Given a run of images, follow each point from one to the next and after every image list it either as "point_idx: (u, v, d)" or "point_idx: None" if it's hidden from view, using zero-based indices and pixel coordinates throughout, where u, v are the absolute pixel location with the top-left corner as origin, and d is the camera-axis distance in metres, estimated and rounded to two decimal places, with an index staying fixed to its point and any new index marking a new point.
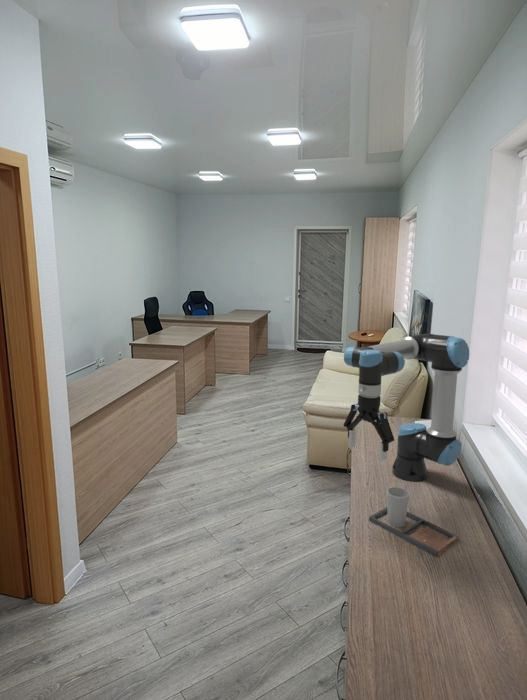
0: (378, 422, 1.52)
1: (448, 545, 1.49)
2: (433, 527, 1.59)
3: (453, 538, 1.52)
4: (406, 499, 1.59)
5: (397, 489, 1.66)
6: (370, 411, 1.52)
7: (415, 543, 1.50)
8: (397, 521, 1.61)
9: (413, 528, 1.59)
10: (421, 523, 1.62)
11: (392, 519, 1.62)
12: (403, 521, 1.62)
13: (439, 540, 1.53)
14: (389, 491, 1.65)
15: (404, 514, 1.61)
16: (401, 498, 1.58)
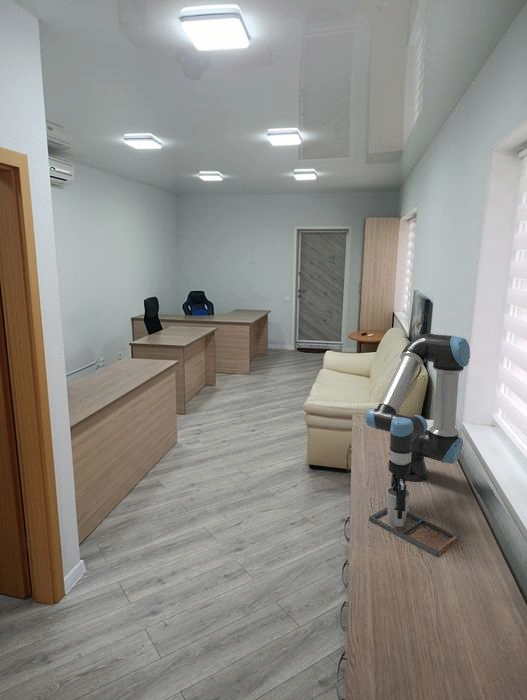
0: None
1: (448, 545, 1.49)
2: (433, 527, 1.59)
3: (453, 538, 1.52)
4: (406, 499, 1.59)
5: None
6: (396, 475, 1.59)
7: (415, 543, 1.50)
8: None
9: (413, 528, 1.59)
10: (421, 523, 1.62)
11: (392, 519, 1.62)
12: (403, 521, 1.62)
13: (439, 540, 1.53)
14: (389, 491, 1.65)
15: (404, 514, 1.61)
16: None
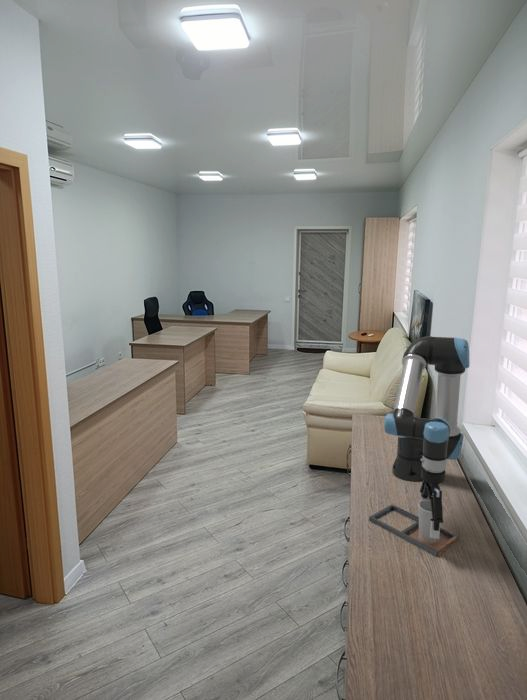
0: None
1: (448, 545, 1.49)
2: None
3: (453, 538, 1.52)
4: None
5: (428, 502, 1.56)
6: (430, 485, 1.49)
7: (415, 543, 1.50)
8: None
9: (413, 528, 1.59)
10: None
11: (424, 535, 1.52)
12: None
13: (439, 540, 1.53)
14: (420, 505, 1.55)
15: None
16: None
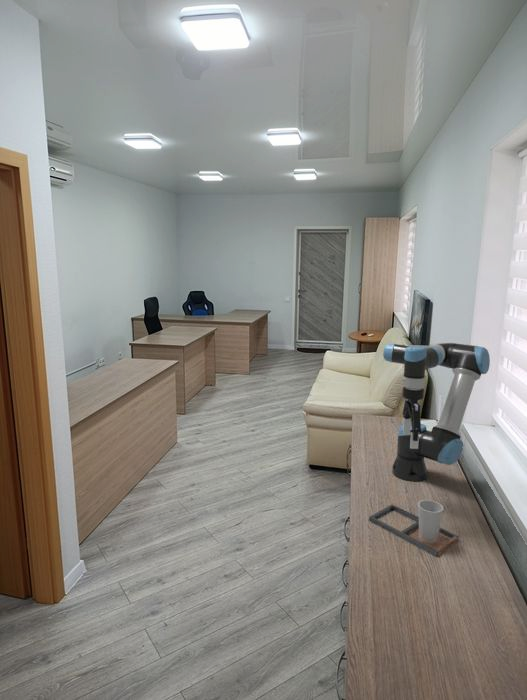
0: None
1: (448, 545, 1.49)
2: None
3: (453, 538, 1.52)
4: (440, 514, 1.49)
5: (428, 502, 1.56)
6: (410, 402, 1.67)
7: (415, 543, 1.50)
8: (430, 537, 1.51)
9: (413, 528, 1.59)
10: None
11: (424, 535, 1.52)
12: (436, 537, 1.52)
13: (439, 540, 1.53)
14: (420, 505, 1.55)
15: (437, 530, 1.51)
16: (435, 513, 1.48)
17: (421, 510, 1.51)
